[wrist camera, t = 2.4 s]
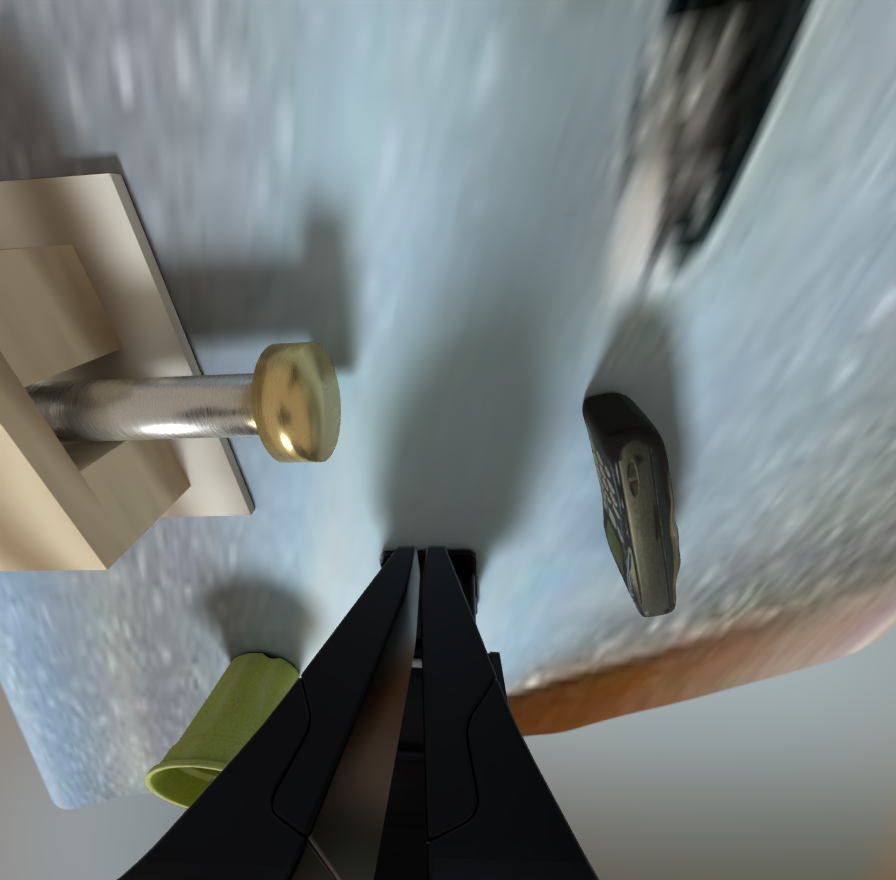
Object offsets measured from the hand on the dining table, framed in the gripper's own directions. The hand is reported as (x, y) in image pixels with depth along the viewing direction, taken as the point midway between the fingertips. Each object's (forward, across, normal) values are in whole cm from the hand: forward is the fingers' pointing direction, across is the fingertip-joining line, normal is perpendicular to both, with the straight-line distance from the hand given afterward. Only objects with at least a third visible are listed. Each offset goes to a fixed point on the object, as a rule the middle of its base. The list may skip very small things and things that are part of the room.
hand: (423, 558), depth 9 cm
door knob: (+11, +13, 0) cm, 18 cm away
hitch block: (+12, +17, 0) cm, 21 cm away
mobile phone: (+13, -10, +9) cm, 19 cm away
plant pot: (+13, +18, +28) cm, 36 cm away
